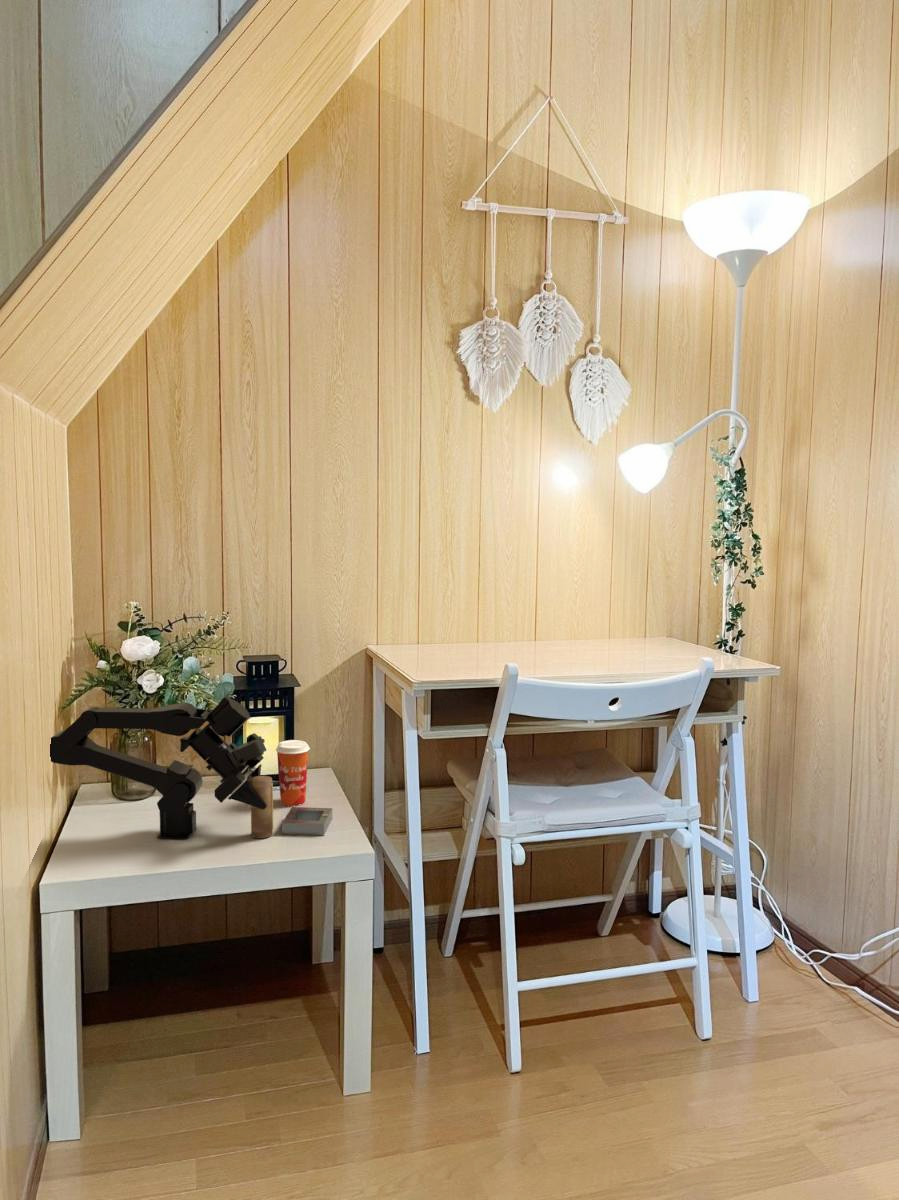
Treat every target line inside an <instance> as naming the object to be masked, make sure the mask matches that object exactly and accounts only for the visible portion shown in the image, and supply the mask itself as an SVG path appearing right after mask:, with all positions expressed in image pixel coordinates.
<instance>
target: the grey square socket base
mask: <svg viewBox="0 0 899 1200" xmlns="http://www.w3.org/2000/svg"><path fill="white" fill-rule="evenodd" d="M331 820H332V821H333V807H332V808H331V807H303V806H302V807H300V806H291V807H290V810H289V811H288V813H286V816H285V817H284V819H283V821H282V823H281V835H290V834H291V835H292V836H296V834H297V835H299V834H300V836H325V835H326V833H327V831H328V829H327V828H329V827H328V826H330V825H329V824H331V823H332V821H331ZM330 822H331V823H330ZM326 830H327V831H326ZM325 832H326V833H325ZM294 834H295V835H294ZM324 834H325V835H324Z"/></svg>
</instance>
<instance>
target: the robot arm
mask: <svg viewBox="0 0 899 1200" xmlns="http://www.w3.org/2000/svg"><path fill="white" fill-rule="evenodd" d="M249 719H251V715H250V713H249V711H248V710H247V709H246V707H245V706H244V705H243V704H242V703H239V702H238V701H237V700H235V699H232V698H231V697H229V696H228V695H225V696H224V697H223V698H222V699H221V700H220V701H219V703H218V704H217V705H216V706H215V707H214V708H213V709H212V710H211V709H206V708H205V709H204V708H199V707H195V706H194V705H193V704H192V703H190V702H180V703H179V702H178V703H174V704H173V703H172V704H168V705H164V706H160V707H155V708H154V707H153V708H147V707H145V708H142V707H141V708H139V707H137V708H135V707H134V708H133V707H127V708H126V707H100V706H99V707H98V706H90V707H89V708H88V709H86V710H84V711H83V712H82V713H81V714H80V716H79V717H77V719H75V721H74V722H73V723H71V724H70V725H69V726H68V727H67V728H65V729H62V730H60V731H59V732H57V733H56V734H55V735H53V736H51V737H50V738H51V744H50V757H51V761H50V762H51V763H53V764H58V765H64V766H86V767H87V766H88V767H91V768H94V769H98V770H101V771H104V772H106V773H110V774H113V775H114V776H115V775H116V776H119V777H122V778H125V779H127V780H131V781H134V782H137V783H140V784H143V785H145V786H146V785H147V786H149V787H152V788H153V789H155V790H156V791H157V792H158V793H159V794H160V795H162V796H161V797H160V798H159V800H157V802H156V805H157V808H158V811H159V833H158V834H157V836H156V838H157V839H164V840H165V839H166V840H167V839H172V840H188V839H189V838H190V837H191V835H193V834H194V832H196V830H197V828H198V827H197V811H196V810H194V803H193V802H191V801H192V800H193V799H194V798H195V796H196V795H197V794H198V792H199V791H200V790H201V788H202V787H203V776H202V775H201V773H200V771H199V770H197V769H196V768H193V767H194V765H193V764H185V763H183V762H181V761H180V760H177V759H175V760H173V761H172V762H171V763H170V764H169V765H160V764H157V763H153V762H150V761H148V760H144V759H141V758H138V757H136V756H133V755H129V754H127V753H124V752H120V751H117V750H114V749H111V748H107V747H105V746H102V745H99V744H97V743H96V742H94V741H93V740H92V739H91V738H90V736H89V735H90V734H91V733H92V732H93V731H94V730H95V729H113V730H114V729H117V730H118V729H120V730H122V729H123V730H128V729H129V730H152V731H155V732H159V733H161V734H163V735H168V736H169V735H170V736H175V737H181V738H180V739H179V742H180V747H179V748H180V750H179V751H180V752H181V753H184V752H185V751H186V750H187V749H189V748H191V749H192V750H193V751H194V752H195V753H196V754H197V755H198V756H199V757H200V758H201V759H202V760H203V761H204V762H205V763H206V764H207V766H206V769H207V770H208V771H209V772H210V771H211V770H212V769H213V771H214V772H216V774H217V775H219V777H220V778H221V780H220V784H219V785H218V786H217V787H216V788H215V789H214V798H215V799H217V801H219V802H220V803H224V801H225V800H226V799H227V800H229V801H230V800H233V801H237V802H240V803H243V804H245V805H250V806H251V805H252V806H254V807H257V808H260V809H265V808H266V807H267V805H266V803H265V802H264V800H263V799H262V798H261V797H260V795H259V794H258V793H257V791H256V790H255V789H254V788H253V786H252V778H253V777H256V776H262V774H261V773H262V772H261V770H262V764H261V761H262V760H263V759H265V757H264V756H263V755H264V753H265V752H267V748H266V746H265V739H264V738H262V736H261V735H260V736H259V735H258V734H257V733H255V732H254V733H252V734H249V735H248V736H247V737H246V740H245V741H246V742H243V744H241V745H238V746H237V744H235V743H232V742H230V743H227V742H226V741H225V740H224V739H223V738H222V737H225V736H226V737H232V736H233V735H234V734H235V733H236V732H237V731H238V730H239V729H240V728H241V727H242V726H243V725H244V724H245V723H246V722H247V721H248V720H249ZM206 722H207V725H206V726H205V727H203V728H201V727H202V726H204V724H205V723H206ZM191 730H193V731H192V732H191V733H190V734H189V735H188V736H185V735H187V734H188V733H189V732H190V731H191ZM182 736H183V737H182ZM258 764H259V765H258ZM257 765H258V766H257ZM256 766H257V767H256Z"/></svg>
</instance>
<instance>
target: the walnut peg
mask: <svg viewBox="0 0 899 1200" xmlns="http://www.w3.org/2000/svg"><path fill="white" fill-rule="evenodd" d="M273 785H274V783H273V778H272V776H267V775H261V776H256V777H253V778H252V786H253V788H254V789H255V790H256V791H257V793H258V794H259V795H260V797H261V798H262V799H263V800H264V802H265V803H266V805H267V807H266V808H265V809H260V808H257V807H254V806H252V805H250V819H251V820H250V830H251V831H250V834H251V835H250V836H251V837H252V838H255V839H267V838H269V837H271V836H272V835H273V834H274V833H273V830H274V786H273Z"/></svg>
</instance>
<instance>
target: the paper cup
mask: <svg viewBox="0 0 899 1200" xmlns="http://www.w3.org/2000/svg"><path fill="white" fill-rule="evenodd" d="M310 749H311V748H310V746H309V744H308V743H307V742H306V741H304V740H301V739H299V740H298V739H288V740H283V741H280V742H278V743H277V746H276V748H275V751H276V754H277V767H278V782H279V795H280V804H281V803H282V804H283V805H282V804H281V805H282V806H285V805H286V806H285V807H295V806H294V805H299V804H302V805H304V804H305V803H306V794H307V779H308V778H307V777H308V776H307V774H308V758H309V753H308V752H309V750H310ZM304 802H305V803H304ZM303 803H304V804H303ZM299 806H300V805H299Z"/></svg>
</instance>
